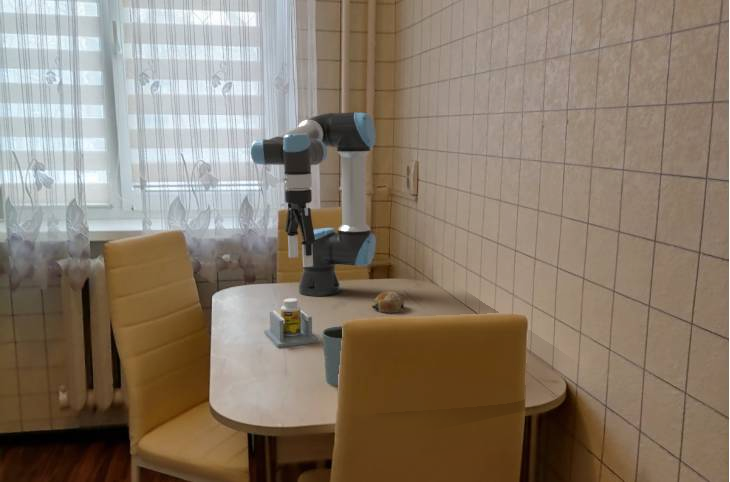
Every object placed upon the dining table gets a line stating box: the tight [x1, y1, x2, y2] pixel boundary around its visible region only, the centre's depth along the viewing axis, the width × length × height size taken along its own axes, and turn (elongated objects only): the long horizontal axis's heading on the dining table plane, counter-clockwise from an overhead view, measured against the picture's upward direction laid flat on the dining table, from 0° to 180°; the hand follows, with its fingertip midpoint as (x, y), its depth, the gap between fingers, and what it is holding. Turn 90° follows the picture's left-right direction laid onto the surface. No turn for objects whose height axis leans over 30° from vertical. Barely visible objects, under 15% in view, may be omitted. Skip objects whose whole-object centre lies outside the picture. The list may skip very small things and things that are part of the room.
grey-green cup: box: [321, 325, 342, 387], centre depth 159 cm, size 10×10×12 cm
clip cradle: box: [263, 307, 320, 349], centre depth 191 cm, size 14×12×7 cm
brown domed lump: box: [371, 291, 405, 314], centre depth 220 cm, size 10×10×8 cm
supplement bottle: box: [280, 297, 302, 337], centre depth 190 cm, size 6×6×10 cm
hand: (300, 261), depth 192 cm, fingers open, 13 cm apart
